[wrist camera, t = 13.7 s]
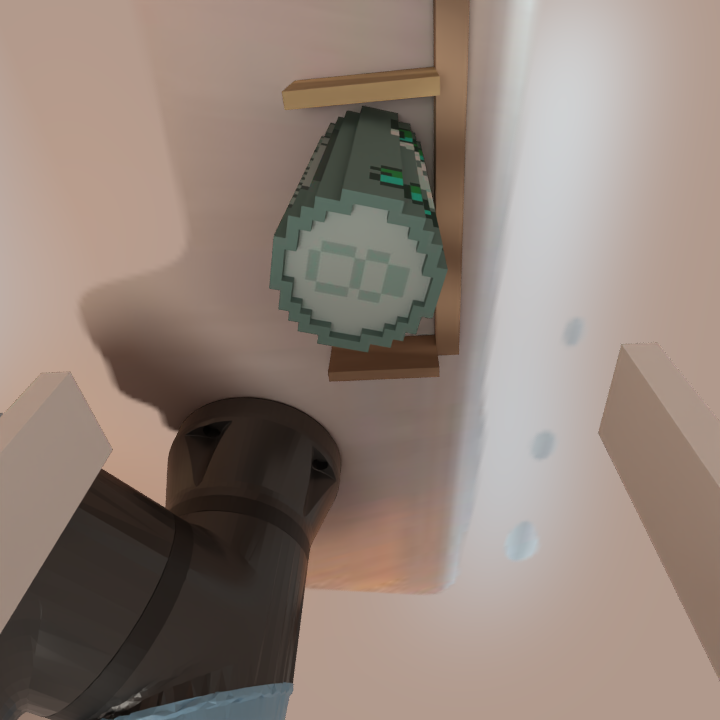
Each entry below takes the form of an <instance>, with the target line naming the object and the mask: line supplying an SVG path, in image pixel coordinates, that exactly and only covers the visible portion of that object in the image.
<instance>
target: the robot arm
mask: <svg viewBox="0 0 720 720" xmlns="http://www.w3.org/2000/svg"><path fill="white" fill-rule="evenodd" d="M598 433H599V435H600V437H601V439H602V441H603V444H604V445H605V448H606V450H607V452H608V454H609V456H610V458H611V459H612V462H613V464H614V466H615V468H616V470H617V472H618V474H619V476H620V478H621V480H622V482H623V484H624V486H625V489H626V490H627V493H628V494H629V497H630V499H631V501H632V503H633V505H634V507H635V509H636V511H637V513H638V515H639V517H640V519H641V521H642V523H643V525H644V527H645V529H646V531H647V533H648V535H649V538H650V540H651V542H652V544H653V546H654V548H655V550H656V552H657V554H658V556H659V558H660V560H661V562H662V564H663V566H664V568H665V570H666V572H667V574H668V576H669V578H670V580H671V582H672V584H673V587H674V589H675V590H676V593H677V595H678V597H679V599H680V601H681V603H682V605H683V607H684V609H685V611H686V613H687V615H688V617H689V619H690V621H691V623H692V625H693V627H694V629H695V631H696V633H697V635H698V637H699V640H700V642H701V644H702V646H703V648H704V650H705V652H706V654H707V656H708V658H709V660H710V662H711V664H712V666H713V668H714V670H715V672H716V674H717V676H718V678H719V680H720V421H719V420H718V418H717V417H716V416H715V415H714V413H713V412H712V411H711V410H710V408H709V407H708V406H707V404H706V403H705V402H704V401H703V399H702V398H701V397H700V396H699V395H698V393H697V392H696V391H695V390H694V388H693V387H692V386H691V384H690V383H689V382H688V381H687V379H686V378H685V377H684V375H683V374H682V373H681V372H680V370H679V369H678V368H677V367H676V365H675V364H674V363H673V362H672V360H671V359H670V358H669V357H668V355H667V354H666V353H665V352H664V350H663V349H662V348H661V347H660V345H659V344H658V343H657V342H655V343H636V344H622V345H621V348H620V352H619V356H618V359H617V363H616V367H615V371H614V375H613V379H612V383H611V387H610V390H609V394H608V398H607V401H606V406H605V409H604V413H603V417H602V421H601V425H600V428H599V432H598ZM112 450H113V449H112V448H111V445H110V443H109V442H108V440H107V438H106V436H105V435H104V433H103V431H102V429H101V427H100V425H99V424H98V422H97V420H96V418H95V416H94V414H93V412H92V411H91V409H90V407H89V405H88V403H87V401H86V400H85V398H84V396H83V394H82V392H81V390H80V389H79V387H78V385H77V383H76V381H75V380H74V378H73V376H72V374H71V372H52V373H41V374H40V375H39V376H38V377H37V378H36V379H35V381H34V382H33V383H32V384H31V385H30V386H29V387H28V388H27V389H26V390H25V391H24V392H23V393H22V394H21V395H20V397H19V398H18V399H17V400H16V401H15V402H14V403H13V404H12V405H11V406H10V407H9V409H7V411H6V412H5V413H4V414H3V413H0V720H17V719H18V718H19V717H20V716H21V715H22V714H24V713H25V712H29V713H32V714H35V715H38V716H41V717H45V718H48V719H51V720H285V716H286V711H287V705H288V701H289V696H290V695H291V694H292V692H293V678H294V669H295V661H296V654H297V646H298V638H299V630H300V622H301V613H302V606H303V599H304V591H305V583H306V575H307V566H308V559H309V552H310V546H311V544H312V542H313V540H314V538H315V536H316V534H317V532H318V530H319V529H320V527H321V525H322V523H323V521H324V519H325V517H326V515H327V513H328V511H329V510H330V508H331V506H332V504H333V502H334V500H335V498H336V495H337V492H338V488H339V481H340V472H341V459H340V454H339V451H338V448H337V446H336V444H335V442H334V441H333V439H332V438H331V436H330V435H329V434H328V432H327V431H326V430H325V429H324V428H323V427H322V426H321V425H320V424H318V423H317V422H316V421H315V420H313V419H312V418H310V417H309V416H307V415H306V414H304V413H302V412H300V411H298V410H296V409H294V408H292V407H289V406H287V405H284V404H281V403H277V402H273V401H269V400H264V399H256V398H233V399H226V400H221V401H217V402H213V403H210V404H208V405H205V406H203V407H201V408H200V409H198V410H196V411H195V412H194V413H192V414H191V415H190V416H189V417H188V418H187V419H186V420H185V421H184V422H183V424H182V425H181V427H180V429H179V431H178V433H177V435H176V438H175V439H174V441H173V444H172V446H171V449H170V452H169V457H168V468H167V469H168V470H167V488H166V507H163V506H161V505H160V504H158V503H156V502H155V501H153V500H152V499H150V498H148V497H147V496H145V495H143V494H142V493H140V492H139V491H137V490H135V489H134V488H132V487H130V486H129V485H127V484H126V483H124V482H122V481H121V480H119V479H117V478H116V477H114V476H113V475H111V474H109V473H108V472H106V471H105V470H103V469H101V468H102V466H103V465H104V463H105V462H106V460H107V458H108V457H109V455H110V453H111V452H112Z"/></svg>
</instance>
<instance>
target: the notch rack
mask: <svg viewBox="0 0 720 720" xmlns="http://www.w3.org/2000/svg"><path fill="white" fill-rule="evenodd" d="M469 3H470V0H433V20H434V67H427V68H417V69H407V70H397V71H387V72H377V73H367V74H357V75H347V76H338V77H328V78H318V79H308V80H298V81H294V82H293V83H291V84H290V85H289V86H288V87H287V88H286V89H285V90H283V91H282V96H283V102H284V108H285V110H290V109H301V108H311V107H322V106H332V105H343V104H353V103H364V102H374V101H384V100H395V99H405V98H416V97H426V96H434V207H435V212H436V216H437V221H438V225H439V230H440V235H441V239H442V244H443V250H444V255H445V259H446V264H447V268H448V271H447V274H446V277H445V280H444V283H443V286H442V289H441V292H440V296H439V299H438V302H437V305H436V308H435V335H423V336H405V337H404V340H403V341H399V340H394V339H393V341H392V344H391V348H389V347H383V346H378V345H372V344H370V347H369V351H368V352H363V351H357V350H351V349H346V348H340V347H335V346H332V351H331V357H330V363H329V369H328V376H329V381H352V380H375V379H398V378H421V377H439V361H438V355H457V354H459V333H460V300H461V267H462V234H463V201H464V168H465V135H466V102H467V69H468V36H469Z"/></svg>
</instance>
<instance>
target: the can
mask: <svg viewBox="0 0 720 720" xmlns="http://www.w3.org/2000/svg"><path fill="white" fill-rule="evenodd" d="M447 271H448V268H447V264H446V259H445V255H444V250H443V244H442V239H441V235H440V230H439V225H438V221H437V216H436V212H435V207H434V203H433V198H432V194H431V189H430V185H429V180H428V176H427V171H426V167H425V162H424V158H423V153H422V149H421V144H420V142H419V141H416V136H415V133H413V132H411V128H410V124H408V123H403V122H398V113H394V112H389V111H384V110H380V109H375V108H371V107H366V106H362V109H361V113H356V112H352V111H347V112H346V114H345V117H344V118H342V117H338V120H337V122H336V124H334V123H330V125H329V128H328V130H327V132H326V134H325V136H324V137H323V136H322V137H321V139H320V141H319V143H318V145H317V147H316V149H315V151H314V153H313V156H312V158H311V160H310V162H309V164H308V166H307V168H306V170H305V172H304V174H303V176H302V178H301V180H300V183H299V185H298V187H297V189H296V191H295V193H294V195H293V197H292V199H291V201H290V203H289V205H288V207H287V210H286V212H285V214H284V216H283V218H282V220H281V222H280V224H279V226H278V228H277V230H276V232H275V234H274V239H273V250H272V262H271V274H270V285H269V288H270V289H275V290H280V299H279V310H285V311H289V318H288V320H289V321H294V322H299V324H298V331H300V332H305V333H311V334H317V335H318V341H317V343H318V344H324V345H329V346H335V347H340V348H346V349H351V350H357V351H363V352H368V351H369V347H370V344H372V345H378V346H383V347H389V348H391V344H392V341H393V339H394V340H399V341H403V340H404V337H405V333H411V334H416V333H417V330H418V326H419V323H420V320H421V317H426V318H432V317H433V314H434V311H435V308H436V305H437V302H438V299H439V296H440V292H441V289H442V286H443V283H444V280H445V277H446V274H447Z"/></svg>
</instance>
